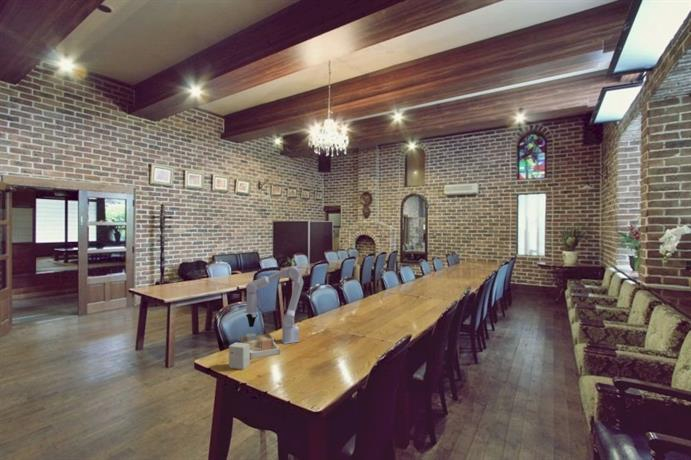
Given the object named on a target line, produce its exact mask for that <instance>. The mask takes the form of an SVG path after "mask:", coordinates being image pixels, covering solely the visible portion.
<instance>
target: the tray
mask: <svg viewBox="0 0 691 460" xmlns="http://www.w3.org/2000/svg"><path fill="white" fill-rule="evenodd" d="M280 354H281V348H280V347H279V346H278V345H277V343H276V342H275V341H274V342H273V346H271V350H265V351H262V350H261V348H258V349H252V350H250V360H254V359H259V358H265V357H273V356H277V355H280Z"/></svg>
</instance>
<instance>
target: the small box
mask: <svg viewBox="0 0 691 460" xmlns="http://www.w3.org/2000/svg"><path fill="white" fill-rule="evenodd" d="M250 361H251V359H250V348H249V344H247V343H241V342H234V343H232V344H230V345H228V367H229V368H231V369H236V370H237V369H238V370H244V369H246V368H248V367H249V366H250V364H251V362H250Z"/></svg>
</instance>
